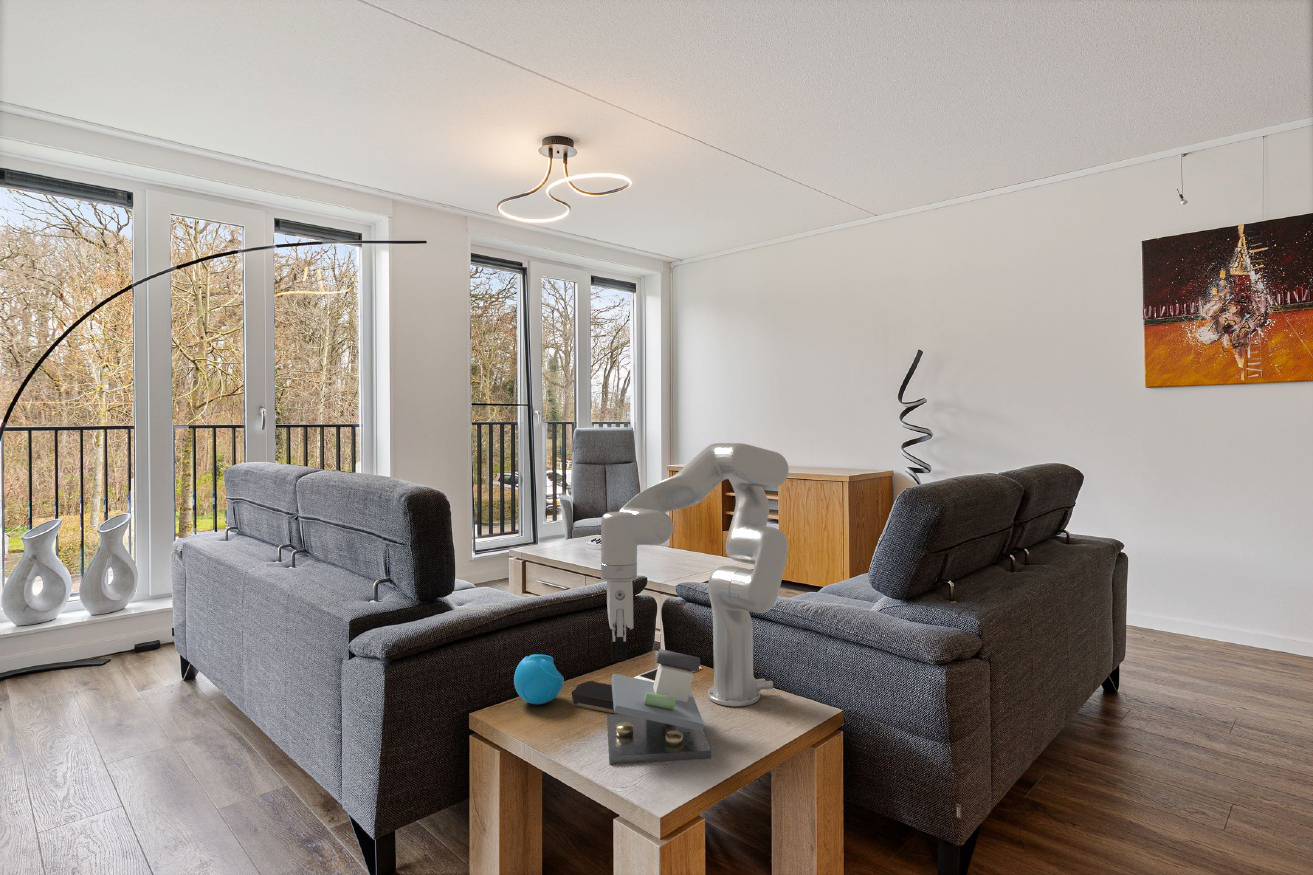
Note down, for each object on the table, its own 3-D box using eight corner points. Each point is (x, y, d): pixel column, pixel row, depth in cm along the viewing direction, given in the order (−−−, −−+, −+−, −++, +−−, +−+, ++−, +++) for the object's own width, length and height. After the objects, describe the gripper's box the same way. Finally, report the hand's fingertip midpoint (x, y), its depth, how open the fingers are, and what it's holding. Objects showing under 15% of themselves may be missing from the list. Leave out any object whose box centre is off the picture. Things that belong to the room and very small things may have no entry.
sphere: (571, 705, 162) (570, 656, 162) (526, 716, 156) (525, 665, 156) (550, 689, 172) (549, 643, 172) (506, 700, 166) (506, 652, 166)
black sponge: (643, 705, 162) (643, 689, 162) (625, 718, 154) (624, 702, 154) (586, 694, 170) (586, 679, 170) (566, 706, 162) (566, 690, 162)
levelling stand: (695, 716, 154) (694, 692, 154) (710, 757, 134) (710, 731, 134) (606, 721, 152) (606, 697, 152) (609, 764, 132) (608, 737, 132)
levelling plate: (687, 701, 153) (700, 650, 153) (700, 737, 135) (714, 679, 135) (609, 685, 151) (622, 633, 152) (612, 718, 133) (627, 660, 134)
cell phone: (702, 670, 185) (702, 666, 185) (657, 689, 172) (656, 685, 172) (678, 663, 191) (677, 660, 191) (632, 681, 178) (632, 677, 178)
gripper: (639, 578, 135) (639, 670, 135) (634, 564, 150) (634, 648, 150) (601, 578, 135) (601, 671, 134) (600, 565, 149) (600, 649, 149)
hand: (619, 659), depth 142 cm, fingers closed
